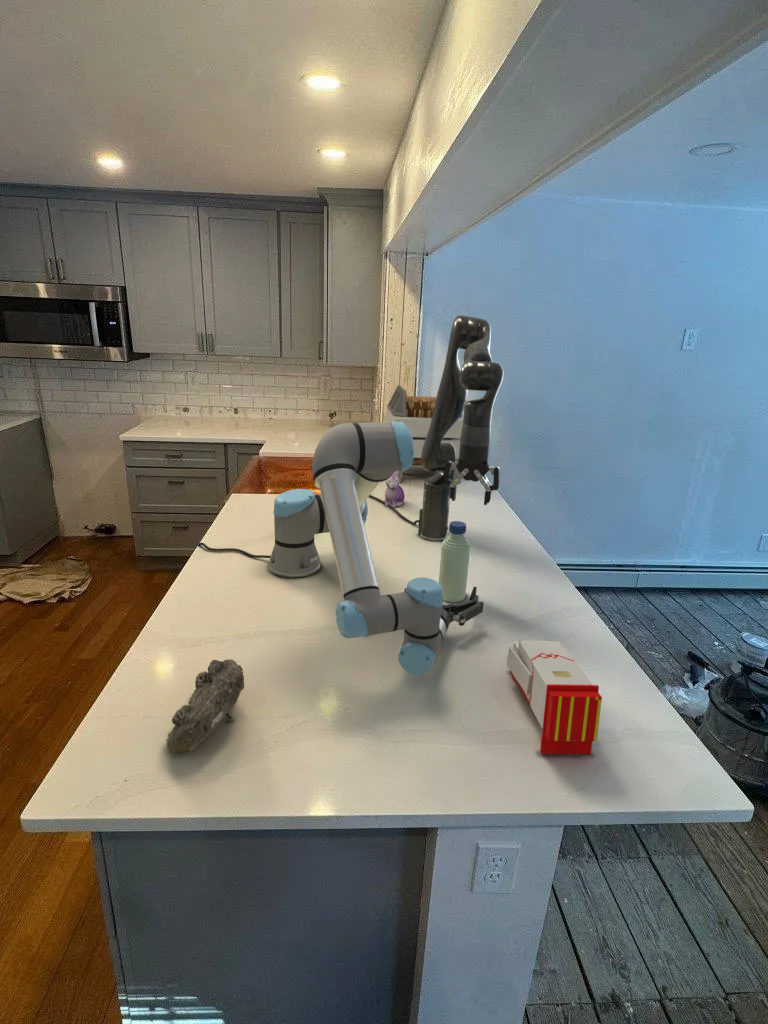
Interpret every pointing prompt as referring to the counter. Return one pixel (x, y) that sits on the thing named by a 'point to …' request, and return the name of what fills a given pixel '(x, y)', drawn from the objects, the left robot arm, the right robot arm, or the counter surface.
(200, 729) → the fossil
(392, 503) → the figurine
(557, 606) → the counter surface
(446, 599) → the bottle
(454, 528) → the cap
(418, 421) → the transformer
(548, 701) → the toy
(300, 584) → the counter surface
